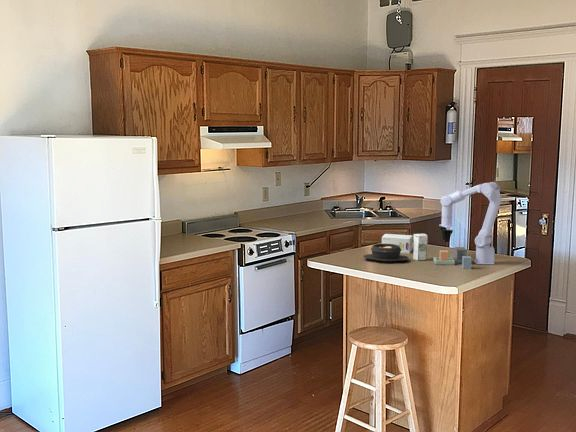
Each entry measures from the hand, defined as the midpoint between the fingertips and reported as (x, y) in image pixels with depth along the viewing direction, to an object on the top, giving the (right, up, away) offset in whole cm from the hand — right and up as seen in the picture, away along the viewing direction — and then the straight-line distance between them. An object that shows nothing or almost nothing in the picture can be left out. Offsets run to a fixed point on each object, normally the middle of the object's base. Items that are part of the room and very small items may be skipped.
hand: (446, 240), depth 353 cm
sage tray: (-4, -12, -12) cm, 17 cm away
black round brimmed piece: (-35, -11, -5) cm, 37 cm away
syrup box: (-15, -11, -3) cm, 19 cm away
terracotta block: (-4, -11, -12) cm, 17 cm away
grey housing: (+5, -11, -11) cm, 17 cm away
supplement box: (-24, -7, +24) cm, 34 cm away
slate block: (+4, -13, -25) cm, 29 cm away
